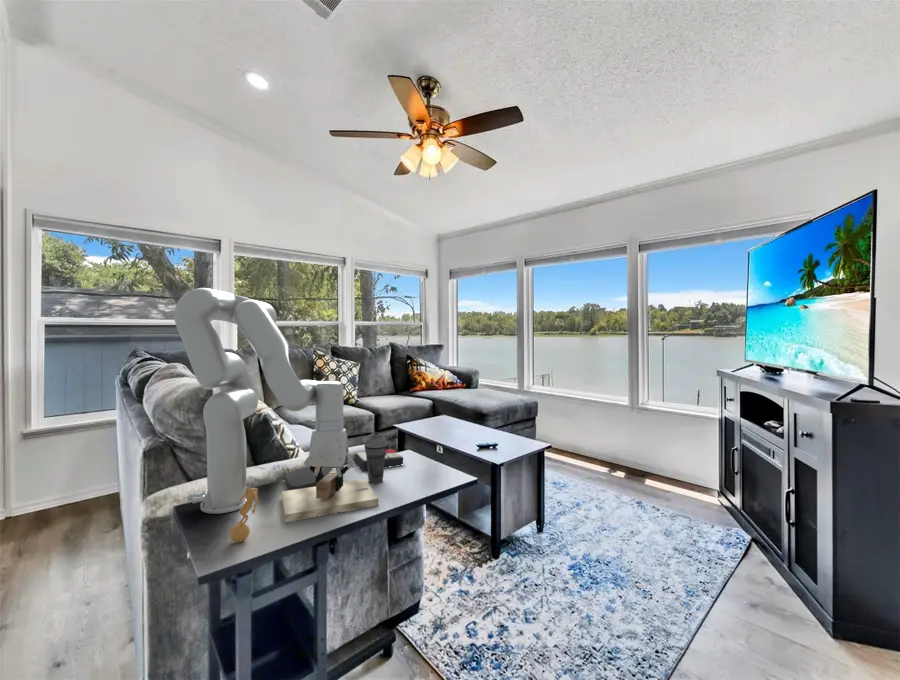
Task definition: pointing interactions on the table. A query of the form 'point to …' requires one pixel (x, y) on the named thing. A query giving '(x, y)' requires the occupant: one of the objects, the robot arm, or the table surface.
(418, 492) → the table surface
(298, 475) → the media streaming box
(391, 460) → the calculator
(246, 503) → the figurine
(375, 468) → the beverage cup
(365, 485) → the base
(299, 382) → the robot arm
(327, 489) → the brown wooden block
